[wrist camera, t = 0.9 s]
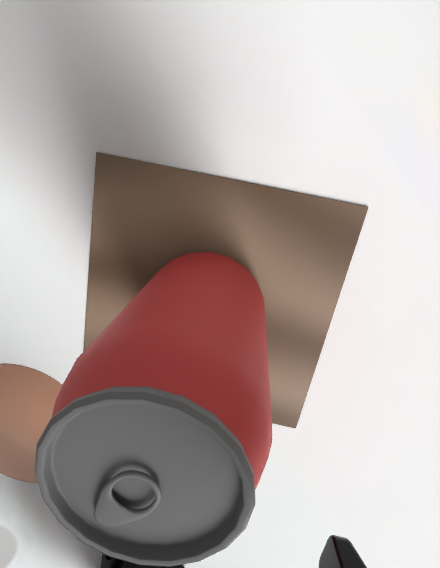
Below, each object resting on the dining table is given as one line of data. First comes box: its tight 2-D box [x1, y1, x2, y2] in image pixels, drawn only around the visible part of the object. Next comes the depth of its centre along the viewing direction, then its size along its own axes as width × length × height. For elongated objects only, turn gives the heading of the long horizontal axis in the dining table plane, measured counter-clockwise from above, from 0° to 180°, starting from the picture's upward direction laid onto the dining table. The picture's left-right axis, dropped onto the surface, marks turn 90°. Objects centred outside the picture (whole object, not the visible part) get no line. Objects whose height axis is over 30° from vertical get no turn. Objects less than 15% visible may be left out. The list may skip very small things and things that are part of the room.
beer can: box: [34, 252, 272, 566], centre depth 14 cm, size 7×7×12 cm
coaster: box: [0, 364, 63, 483], centre depth 24 cm, size 10×10×1 cm
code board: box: [84, 152, 368, 428], centre depth 20 cm, size 14×14×1 cm
